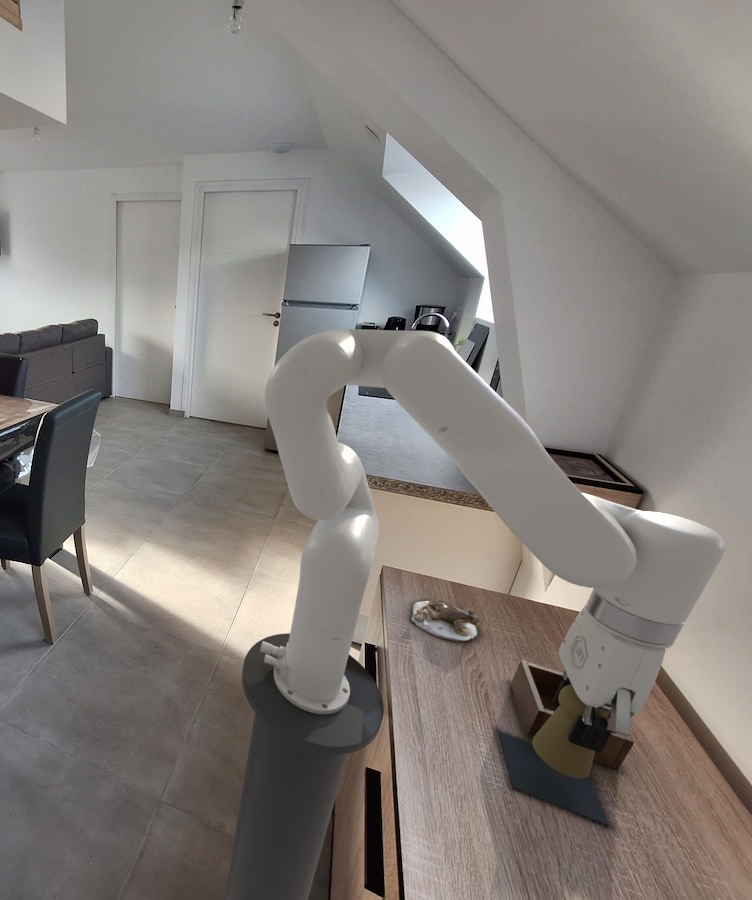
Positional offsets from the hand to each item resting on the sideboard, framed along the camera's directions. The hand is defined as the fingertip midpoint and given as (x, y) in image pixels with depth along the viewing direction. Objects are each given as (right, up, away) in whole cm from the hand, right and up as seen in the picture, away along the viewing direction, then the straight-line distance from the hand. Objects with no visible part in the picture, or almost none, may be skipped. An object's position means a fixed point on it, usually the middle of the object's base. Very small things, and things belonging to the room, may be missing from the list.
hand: (575, 724), depth 59 cm
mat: (0, -9, +3) cm, 10 cm away
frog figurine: (+3, +1, +32) cm, 32 cm away
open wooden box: (+8, -7, +11) cm, 15 cm away
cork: (0, -6, +2) cm, 6 cm away
